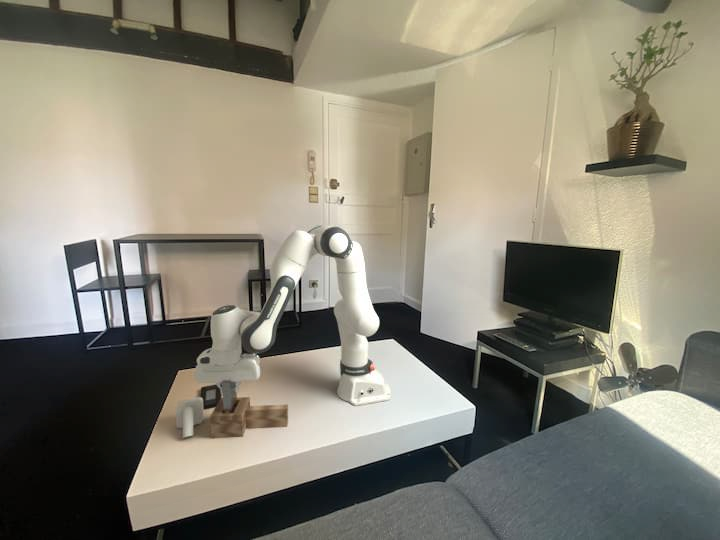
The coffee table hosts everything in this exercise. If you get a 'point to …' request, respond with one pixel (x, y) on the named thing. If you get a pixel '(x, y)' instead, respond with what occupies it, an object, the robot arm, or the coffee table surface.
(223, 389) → the grey wood block
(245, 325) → the robot arm
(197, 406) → the wall hook
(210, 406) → the vhs tape
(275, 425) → the slotted wooden socket block
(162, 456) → the coffee table surface
